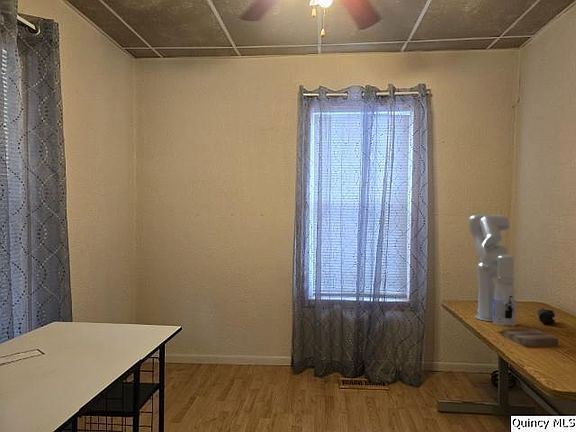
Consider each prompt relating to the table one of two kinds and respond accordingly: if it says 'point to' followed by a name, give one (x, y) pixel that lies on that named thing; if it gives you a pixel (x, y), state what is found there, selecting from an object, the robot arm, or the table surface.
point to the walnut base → (530, 337)
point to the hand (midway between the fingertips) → (504, 315)
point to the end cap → (546, 316)
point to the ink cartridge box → (502, 313)
